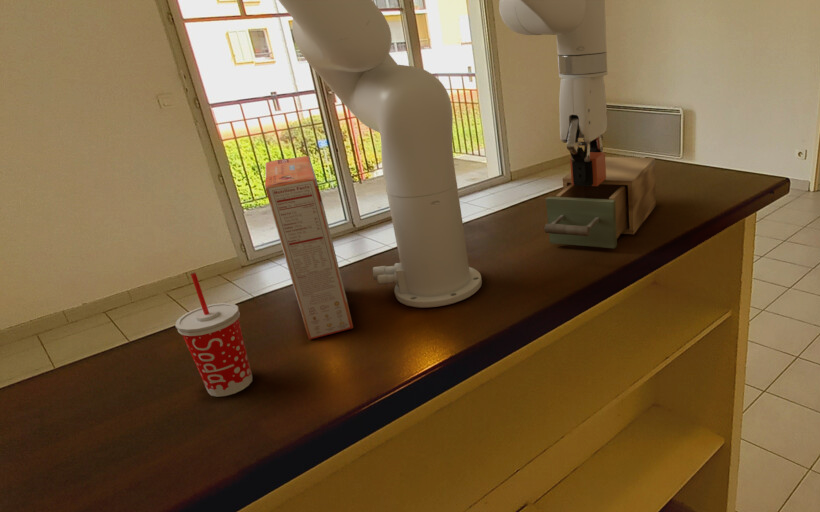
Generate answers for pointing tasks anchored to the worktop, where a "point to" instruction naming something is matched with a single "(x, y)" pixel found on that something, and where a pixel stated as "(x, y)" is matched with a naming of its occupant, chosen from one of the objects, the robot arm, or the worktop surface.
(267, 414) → the worktop surface
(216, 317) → the beverage cup
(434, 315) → the worktop surface
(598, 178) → the block
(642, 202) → the cabinet
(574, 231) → the drawer
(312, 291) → the cracker box
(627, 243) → the worktop surface
